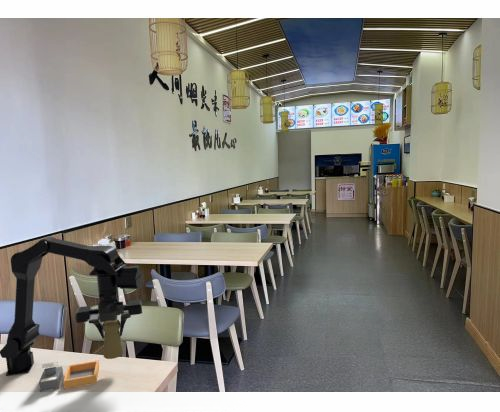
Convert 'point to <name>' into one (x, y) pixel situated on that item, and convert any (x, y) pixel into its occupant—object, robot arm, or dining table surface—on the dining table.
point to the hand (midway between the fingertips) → (112, 336)
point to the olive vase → (112, 339)
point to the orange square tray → (81, 374)
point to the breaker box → (51, 378)
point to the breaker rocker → (49, 365)
